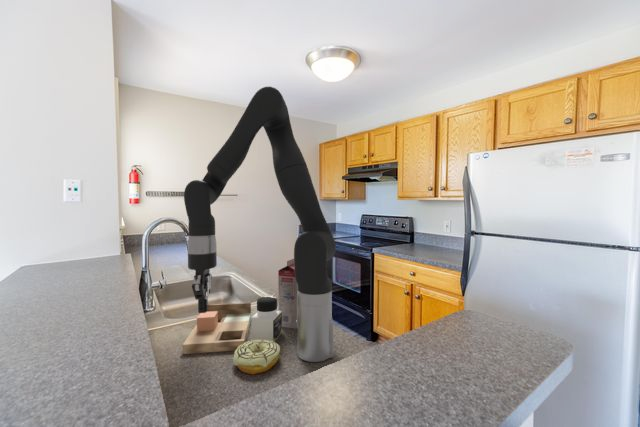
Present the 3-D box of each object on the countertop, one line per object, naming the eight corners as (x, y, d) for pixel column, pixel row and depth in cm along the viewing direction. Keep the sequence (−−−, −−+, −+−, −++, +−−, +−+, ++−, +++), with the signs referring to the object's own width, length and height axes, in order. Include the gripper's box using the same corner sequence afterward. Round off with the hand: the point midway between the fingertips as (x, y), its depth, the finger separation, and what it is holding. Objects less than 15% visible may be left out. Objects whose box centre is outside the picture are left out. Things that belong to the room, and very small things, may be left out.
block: (217, 323, 89) (217, 311, 89) (214, 330, 84) (214, 317, 84) (201, 324, 88) (201, 312, 88) (196, 331, 83) (196, 317, 83)
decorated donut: (225, 374, 66) (225, 357, 66) (244, 350, 77) (244, 335, 77) (272, 378, 64) (272, 360, 64) (284, 352, 76) (284, 337, 76)
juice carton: (278, 326, 93) (278, 260, 93) (286, 318, 99) (287, 257, 99) (296, 328, 91) (296, 261, 91) (304, 321, 97) (304, 258, 97)
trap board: (250, 319, 99) (250, 302, 99) (244, 349, 77) (244, 328, 77) (203, 321, 96) (203, 304, 96) (182, 354, 75) (182, 331, 74)
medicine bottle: (273, 343, 81) (273, 302, 81) (250, 341, 82) (250, 300, 82) (281, 333, 88) (282, 295, 88) (260, 331, 89) (260, 293, 89)
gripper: (211, 254, 73) (211, 319, 73) (220, 248, 86) (221, 303, 86) (180, 255, 72) (181, 321, 72) (194, 248, 85) (195, 305, 85)
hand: (203, 311), depth 79 cm, fingers closed
